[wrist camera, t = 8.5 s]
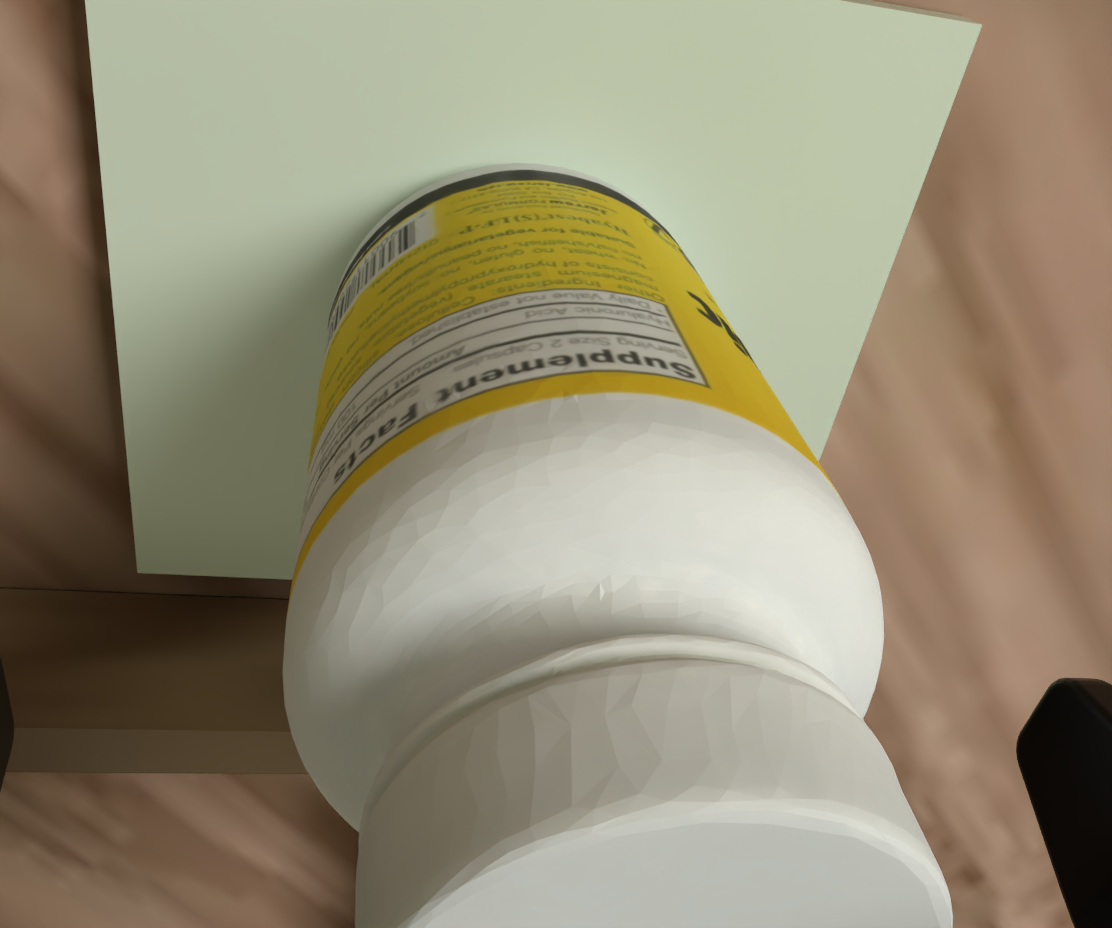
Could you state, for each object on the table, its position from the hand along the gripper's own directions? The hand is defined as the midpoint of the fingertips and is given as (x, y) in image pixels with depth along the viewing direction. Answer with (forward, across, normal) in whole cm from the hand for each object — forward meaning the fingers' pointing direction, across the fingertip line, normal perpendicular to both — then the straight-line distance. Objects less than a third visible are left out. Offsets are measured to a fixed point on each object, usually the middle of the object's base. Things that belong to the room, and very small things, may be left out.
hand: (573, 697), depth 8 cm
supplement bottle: (+8, 0, 0) cm, 8 cm away
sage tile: (+8, 0, 0) cm, 8 cm away
